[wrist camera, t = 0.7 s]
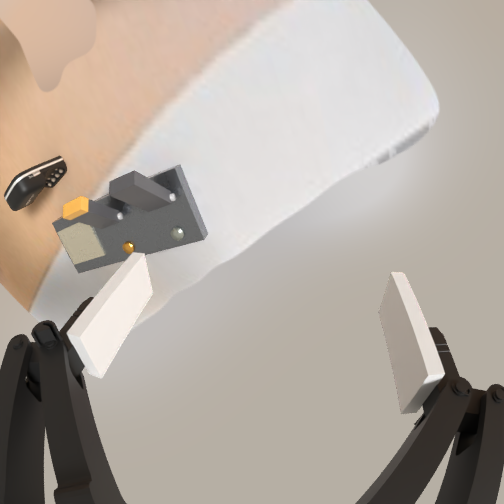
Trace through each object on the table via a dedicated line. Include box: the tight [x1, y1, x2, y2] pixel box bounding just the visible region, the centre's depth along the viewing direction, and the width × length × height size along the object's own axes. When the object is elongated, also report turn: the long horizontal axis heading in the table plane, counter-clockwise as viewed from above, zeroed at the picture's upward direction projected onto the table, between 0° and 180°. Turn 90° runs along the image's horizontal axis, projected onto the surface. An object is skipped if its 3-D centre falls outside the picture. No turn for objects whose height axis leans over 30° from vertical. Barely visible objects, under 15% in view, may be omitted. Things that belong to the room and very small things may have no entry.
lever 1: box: [63, 196, 124, 229], centre depth 38 cm, size 2×5×8 cm
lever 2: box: [109, 170, 176, 212], centre depth 35 cm, size 2×5×8 cm
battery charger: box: [4, 156, 67, 211], centre depth 37 cm, size 7×4×11 cm, turn 121°
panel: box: [52, 165, 208, 273], centre depth 44 cm, size 11×28×2 cm, turn 108°
